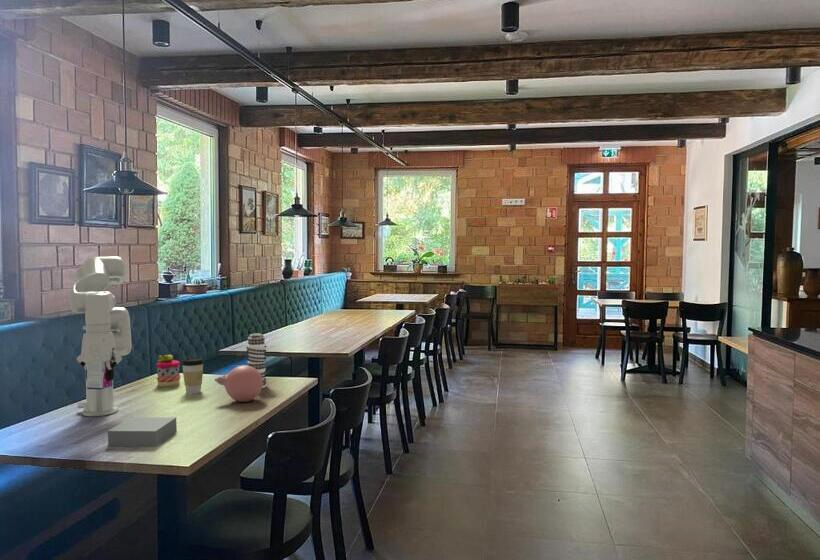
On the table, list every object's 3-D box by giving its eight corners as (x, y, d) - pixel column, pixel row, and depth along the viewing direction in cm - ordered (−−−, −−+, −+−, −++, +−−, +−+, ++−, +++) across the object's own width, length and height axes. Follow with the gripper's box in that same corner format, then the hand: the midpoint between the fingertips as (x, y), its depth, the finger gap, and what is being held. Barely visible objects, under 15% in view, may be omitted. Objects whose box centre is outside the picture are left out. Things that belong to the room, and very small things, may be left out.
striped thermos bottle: (251, 384, 284) (250, 332, 283) (270, 384, 283) (269, 332, 281) (243, 388, 275) (242, 335, 274) (262, 389, 274) (261, 335, 272)
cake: (160, 382, 289) (160, 352, 288) (183, 382, 290) (182, 351, 289) (153, 387, 278) (153, 356, 278) (177, 386, 279) (176, 355, 279)
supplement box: (101, 390, 201) (100, 356, 201) (86, 389, 202) (85, 356, 202) (113, 386, 207) (112, 353, 206) (98, 385, 208) (97, 353, 208)
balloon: (221, 396, 260) (221, 362, 259) (267, 396, 259) (266, 362, 259) (209, 406, 244) (208, 369, 244) (257, 406, 244) (256, 369, 243)
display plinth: (108, 445, 195) (107, 431, 194) (132, 431, 211) (131, 417, 210) (156, 446, 194) (155, 431, 194) (176, 431, 210) (176, 417, 210)
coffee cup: (209, 391, 270) (208, 358, 269) (191, 395, 262) (190, 362, 261) (195, 388, 275) (194, 356, 275) (177, 393, 267) (176, 360, 266)
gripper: (67, 330, 200) (69, 382, 201) (117, 330, 200) (118, 382, 200) (80, 327, 208) (82, 378, 209) (128, 327, 207) (130, 378, 208)
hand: (100, 379), depth 205 cm, fingers closed on supplement box, 6 cm apart
